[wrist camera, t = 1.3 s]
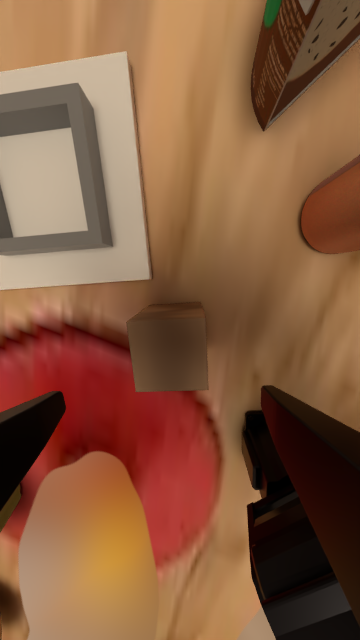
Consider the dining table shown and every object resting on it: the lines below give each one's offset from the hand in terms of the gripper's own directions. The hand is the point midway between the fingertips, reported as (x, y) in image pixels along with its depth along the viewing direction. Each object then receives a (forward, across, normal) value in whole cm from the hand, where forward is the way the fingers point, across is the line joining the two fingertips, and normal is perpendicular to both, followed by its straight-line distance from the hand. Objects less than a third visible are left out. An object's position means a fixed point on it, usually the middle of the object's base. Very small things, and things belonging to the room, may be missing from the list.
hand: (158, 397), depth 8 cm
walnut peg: (+11, 0, 0) cm, 11 cm away
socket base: (+11, +10, -13) cm, 20 cm away
